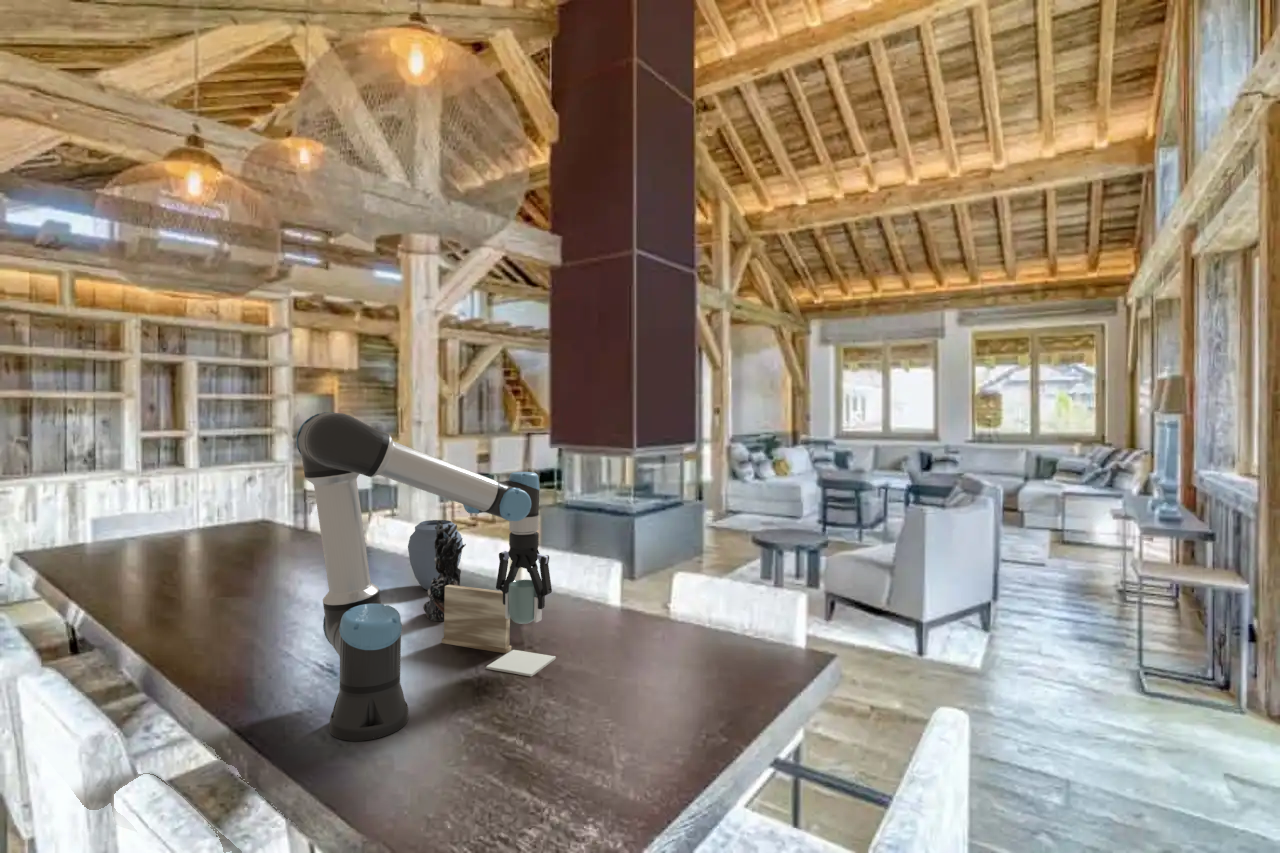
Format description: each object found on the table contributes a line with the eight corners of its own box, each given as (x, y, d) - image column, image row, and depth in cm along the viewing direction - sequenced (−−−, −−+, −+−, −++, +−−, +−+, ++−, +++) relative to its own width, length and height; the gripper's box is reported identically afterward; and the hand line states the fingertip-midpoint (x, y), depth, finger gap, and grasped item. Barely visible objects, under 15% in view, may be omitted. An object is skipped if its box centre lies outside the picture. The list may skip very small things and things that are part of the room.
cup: (532, 627, 166) (532, 588, 165) (503, 625, 167) (503, 586, 167) (542, 618, 173) (543, 580, 173) (515, 615, 175) (515, 578, 175)
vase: (408, 582, 248) (409, 518, 248) (461, 580, 254) (462, 517, 254) (406, 596, 230) (407, 527, 229) (463, 593, 236) (464, 525, 235)
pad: (531, 676, 162) (531, 674, 162) (486, 668, 166) (486, 666, 166) (555, 658, 174) (555, 656, 174) (513, 651, 178) (513, 649, 178)
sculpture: (410, 621, 203) (411, 525, 202) (436, 607, 217) (437, 517, 217) (451, 625, 199) (453, 527, 199) (475, 611, 214) (477, 520, 214)
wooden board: (505, 653, 177) (506, 594, 177) (441, 643, 184) (442, 586, 184) (511, 650, 180) (512, 592, 179) (447, 639, 187) (448, 584, 187)
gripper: (566, 532, 170) (565, 619, 170) (497, 526, 177) (497, 610, 177) (552, 537, 163) (552, 628, 163) (481, 531, 170) (481, 618, 170)
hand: (523, 618), depth 170 cm, fingers closed on cup, 8 cm apart
